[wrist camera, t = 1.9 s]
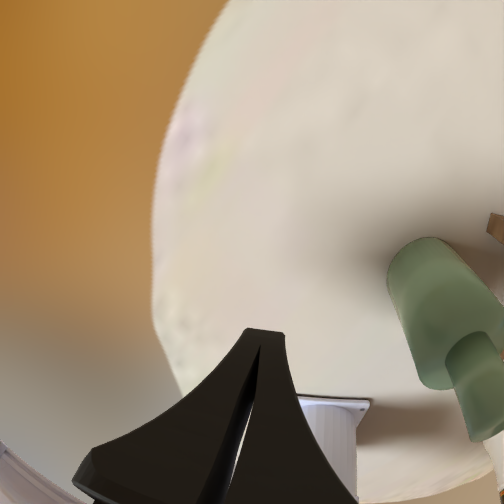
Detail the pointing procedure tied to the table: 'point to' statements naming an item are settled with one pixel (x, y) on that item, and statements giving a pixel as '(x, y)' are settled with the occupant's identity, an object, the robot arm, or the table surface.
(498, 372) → the green bottle
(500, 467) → the vodka
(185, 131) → the table surface
